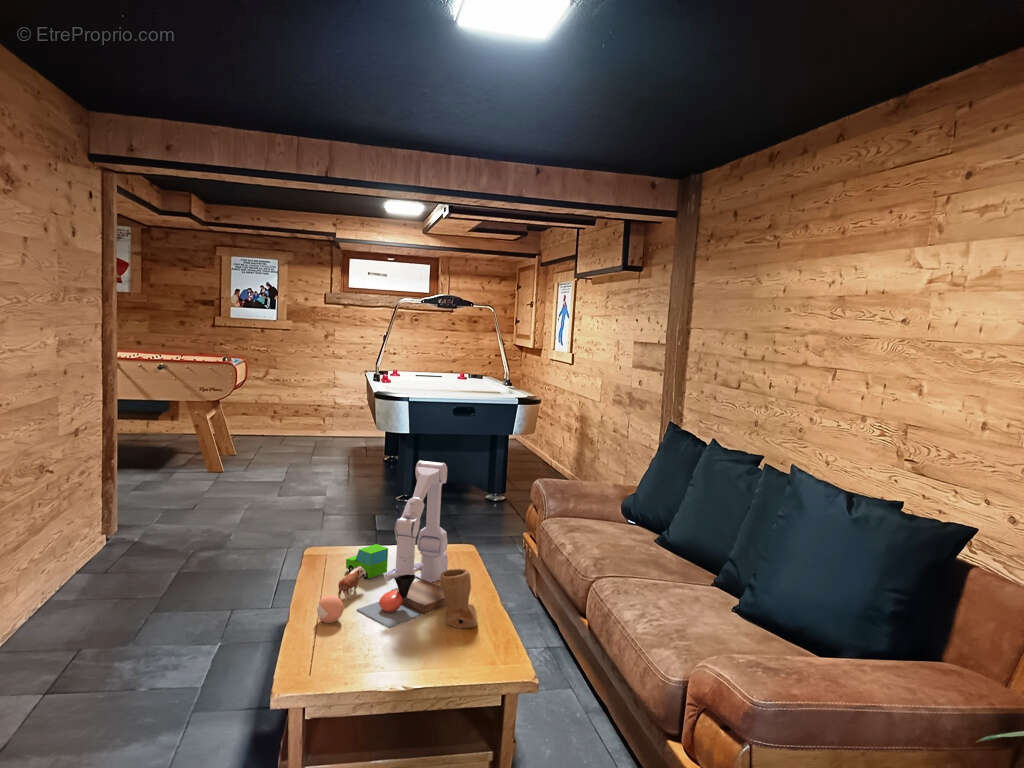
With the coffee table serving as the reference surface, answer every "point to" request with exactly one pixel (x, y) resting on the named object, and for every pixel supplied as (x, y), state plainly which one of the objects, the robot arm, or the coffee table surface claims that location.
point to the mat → (389, 614)
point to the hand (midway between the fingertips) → (403, 596)
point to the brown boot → (458, 598)
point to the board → (424, 597)
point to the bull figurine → (350, 582)
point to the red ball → (390, 601)
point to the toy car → (370, 561)
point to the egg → (330, 608)
